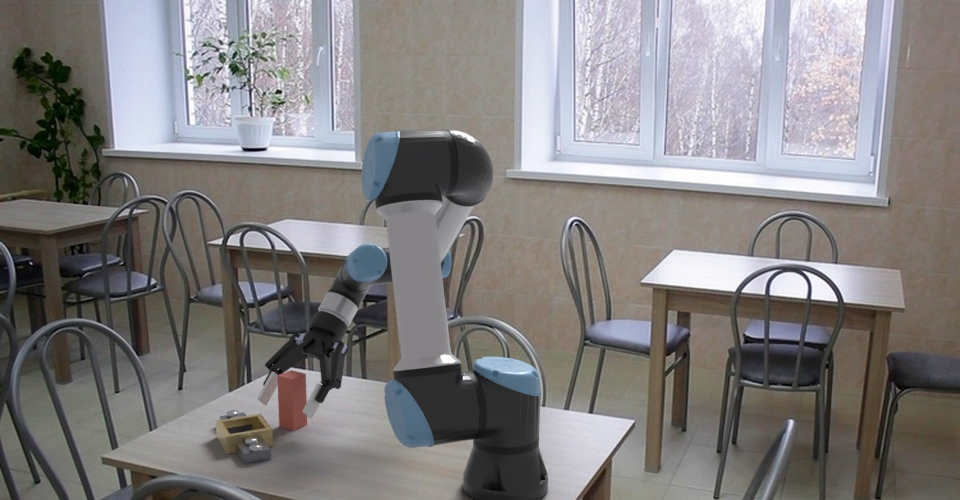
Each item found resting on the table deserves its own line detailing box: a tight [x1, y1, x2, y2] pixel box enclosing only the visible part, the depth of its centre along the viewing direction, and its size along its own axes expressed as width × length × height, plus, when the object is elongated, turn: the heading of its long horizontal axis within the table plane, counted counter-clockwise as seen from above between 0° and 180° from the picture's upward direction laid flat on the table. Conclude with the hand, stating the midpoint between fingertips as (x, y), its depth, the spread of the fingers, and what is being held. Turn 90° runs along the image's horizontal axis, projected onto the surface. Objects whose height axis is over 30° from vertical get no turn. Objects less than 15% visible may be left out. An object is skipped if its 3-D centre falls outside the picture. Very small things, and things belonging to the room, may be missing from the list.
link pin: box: [277, 369, 308, 432], centre depth 201 cm, size 4×4×11 cm
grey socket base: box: [215, 409, 274, 465], centre depth 193 cm, size 21×9×4 cm, turn 27°
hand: (283, 408), depth 199 cm, fingers open, 12 cm apart
